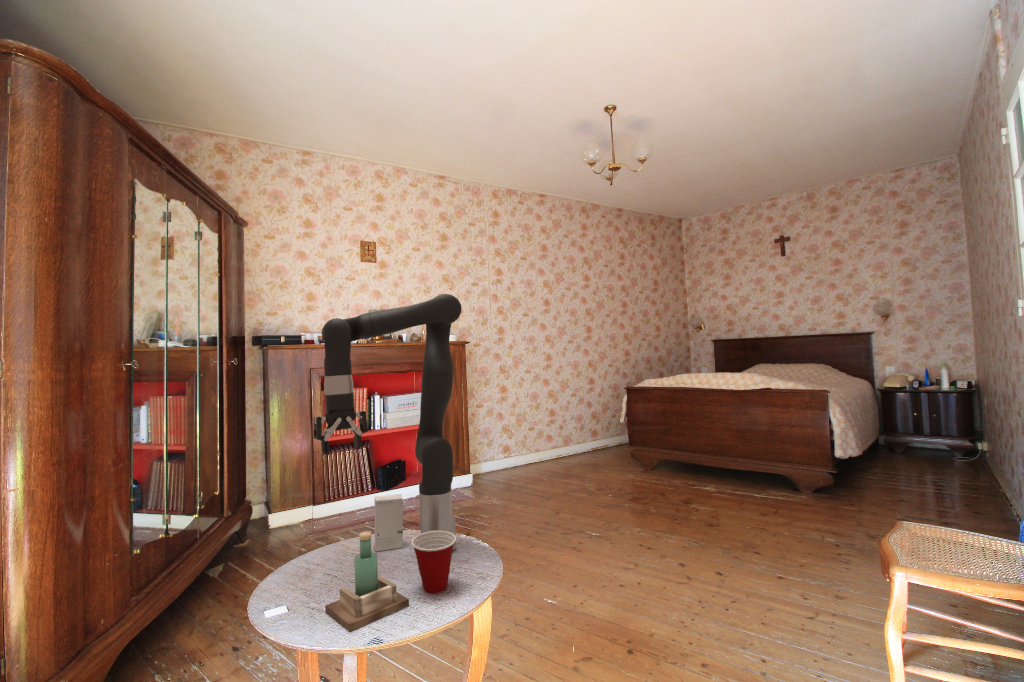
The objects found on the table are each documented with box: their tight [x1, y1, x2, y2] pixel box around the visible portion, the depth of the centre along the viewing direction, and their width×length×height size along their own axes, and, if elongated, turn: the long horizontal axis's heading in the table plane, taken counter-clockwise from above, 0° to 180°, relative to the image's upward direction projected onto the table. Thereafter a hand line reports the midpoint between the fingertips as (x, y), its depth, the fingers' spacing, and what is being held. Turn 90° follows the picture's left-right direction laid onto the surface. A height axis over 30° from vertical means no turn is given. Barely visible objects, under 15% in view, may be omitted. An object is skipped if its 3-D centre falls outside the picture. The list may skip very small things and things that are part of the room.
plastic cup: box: [411, 530, 457, 594], centre depth 117 cm, size 11×11×12 cm
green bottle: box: [353, 530, 379, 597], centre depth 109 cm, size 5×5×15 cm
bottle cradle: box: [324, 574, 410, 632], centre depth 108 cm, size 14×12×5 cm
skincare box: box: [374, 494, 404, 553], centre depth 146 cm, size 8×6×15 cm
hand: (342, 452), depth 131 cm, fingers open, 8 cm apart
